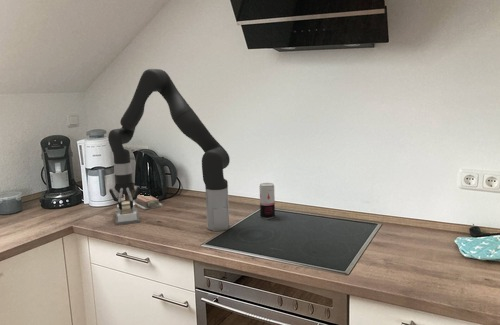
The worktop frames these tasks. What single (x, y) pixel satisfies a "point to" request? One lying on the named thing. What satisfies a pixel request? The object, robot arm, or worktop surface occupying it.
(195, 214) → the worktop surface
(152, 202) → the packaged product
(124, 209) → the slat
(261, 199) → the beverage can
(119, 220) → the board
